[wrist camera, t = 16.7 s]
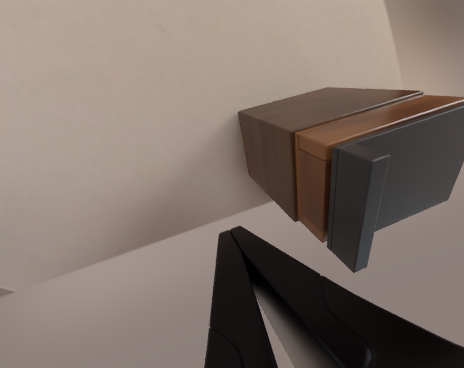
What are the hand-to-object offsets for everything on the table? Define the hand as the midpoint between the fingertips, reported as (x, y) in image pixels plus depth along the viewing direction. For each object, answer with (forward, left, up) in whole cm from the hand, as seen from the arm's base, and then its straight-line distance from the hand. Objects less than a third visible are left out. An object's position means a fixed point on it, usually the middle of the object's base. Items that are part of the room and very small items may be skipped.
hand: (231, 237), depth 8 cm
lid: (+8, -5, -1) cm, 9 cm away
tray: (+8, -5, -3) cm, 10 cm away
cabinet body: (+8, -5, -11) cm, 15 cm away
